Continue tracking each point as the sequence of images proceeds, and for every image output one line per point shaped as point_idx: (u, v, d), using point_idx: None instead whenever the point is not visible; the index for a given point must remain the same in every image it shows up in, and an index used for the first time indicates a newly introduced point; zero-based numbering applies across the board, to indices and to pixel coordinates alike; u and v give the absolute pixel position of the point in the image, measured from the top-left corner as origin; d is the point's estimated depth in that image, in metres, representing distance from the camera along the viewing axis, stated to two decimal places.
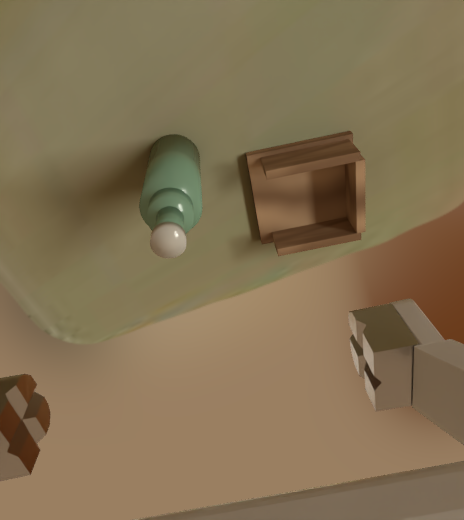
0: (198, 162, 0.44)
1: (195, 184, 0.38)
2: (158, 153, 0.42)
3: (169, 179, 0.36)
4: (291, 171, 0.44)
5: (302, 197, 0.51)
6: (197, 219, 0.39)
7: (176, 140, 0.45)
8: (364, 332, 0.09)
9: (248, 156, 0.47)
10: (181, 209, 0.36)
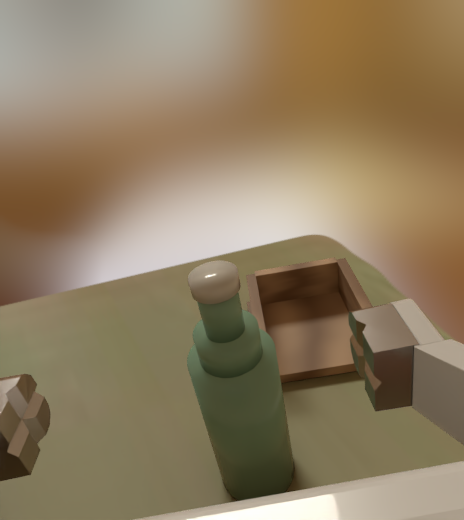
0: None
1: None
2: (211, 443, 0.29)
3: (189, 353, 0.27)
4: (258, 315, 0.40)
5: (313, 327, 0.43)
6: None
7: None
8: (364, 332, 0.09)
9: None
10: None
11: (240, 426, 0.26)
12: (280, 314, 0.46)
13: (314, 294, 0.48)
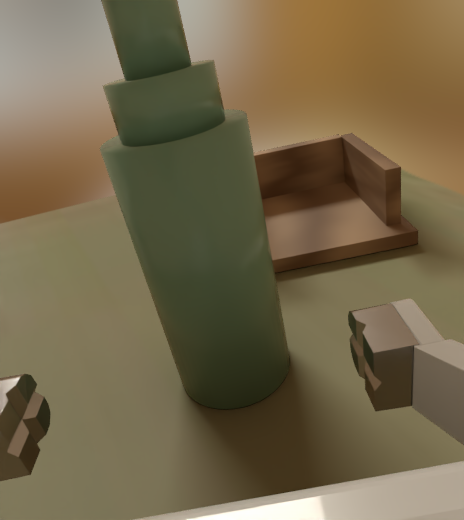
0: None
1: None
2: (156, 309, 0.19)
3: (107, 141, 0.16)
4: None
5: (314, 214, 0.33)
6: None
7: None
8: (364, 332, 0.09)
9: None
10: None
11: (190, 240, 0.15)
12: (270, 207, 0.36)
13: (313, 186, 0.37)
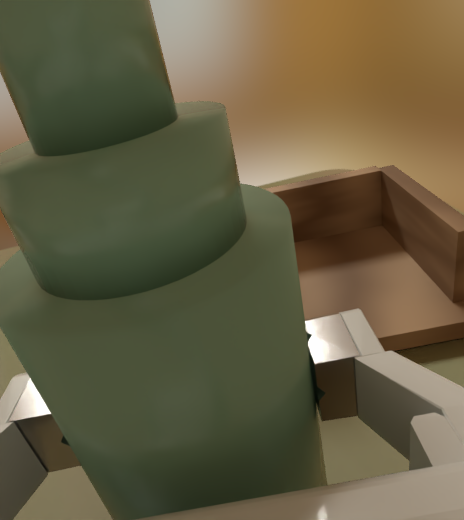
0: None
1: None
2: None
3: (18, 251, 0.09)
4: None
5: (348, 275, 0.25)
6: None
7: None
8: (309, 343, 0.09)
9: None
10: None
11: (175, 483, 0.07)
12: None
13: (342, 230, 0.29)
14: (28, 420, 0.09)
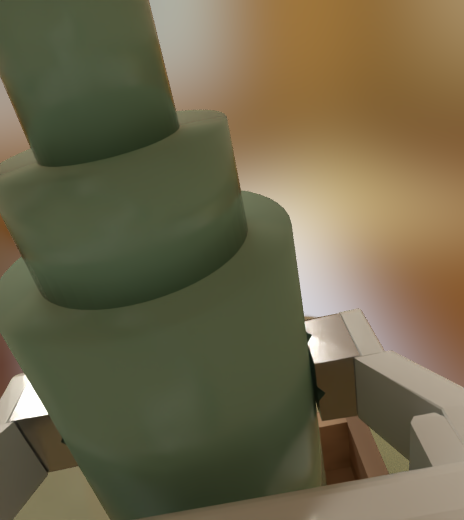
0: None
1: None
2: None
3: (20, 258, 0.09)
4: None
5: None
6: None
7: None
8: (309, 343, 0.09)
9: None
10: None
11: (175, 491, 0.07)
12: None
13: None
14: (28, 420, 0.09)
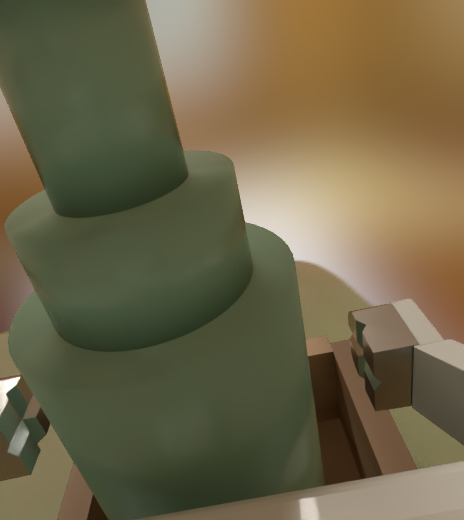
0: None
1: None
2: None
3: (34, 291, 0.09)
4: None
5: None
6: None
7: None
8: (364, 332, 0.09)
9: None
10: None
11: None
12: None
13: None
14: None
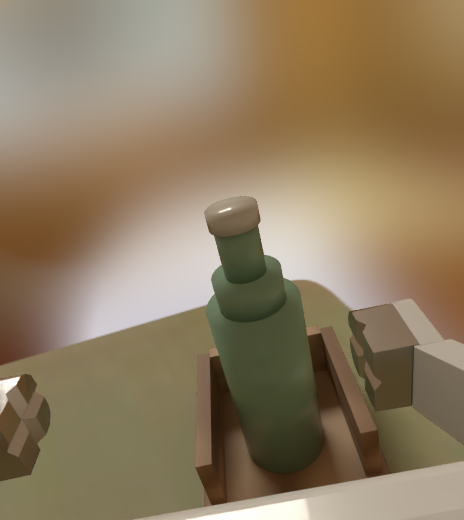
0: None
1: None
2: (235, 407, 0.27)
3: (207, 305, 0.25)
4: (205, 428, 0.28)
5: None
6: None
7: None
8: (364, 332, 0.09)
9: None
10: None
11: (267, 376, 0.24)
12: None
13: None
14: None
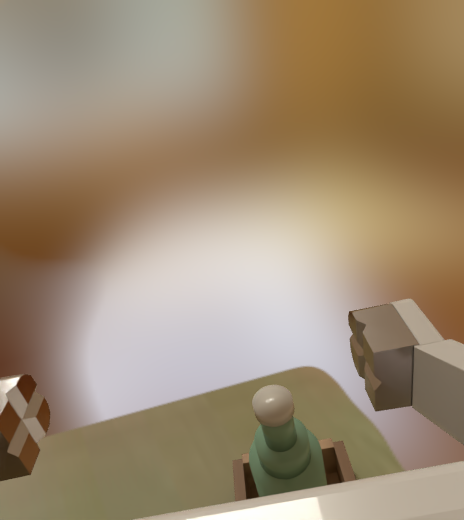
0: None
1: None
2: None
3: (249, 454, 0.33)
4: None
5: None
6: None
7: None
8: (364, 332, 0.09)
9: None
10: None
11: None
12: None
13: None
14: None
